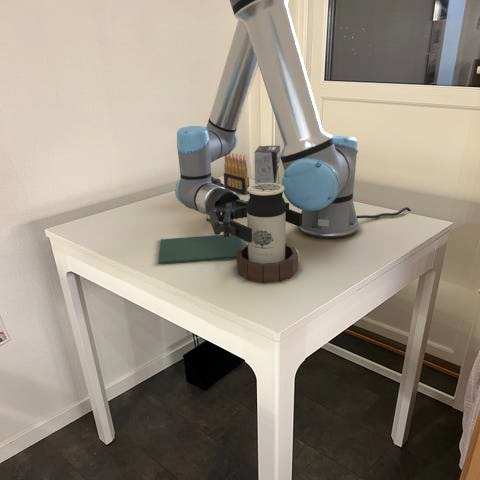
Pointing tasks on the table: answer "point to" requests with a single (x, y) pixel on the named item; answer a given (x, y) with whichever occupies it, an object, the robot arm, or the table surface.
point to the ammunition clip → (236, 173)
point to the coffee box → (267, 164)
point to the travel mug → (266, 223)
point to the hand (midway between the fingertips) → (276, 227)
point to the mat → (198, 248)
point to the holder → (267, 266)
